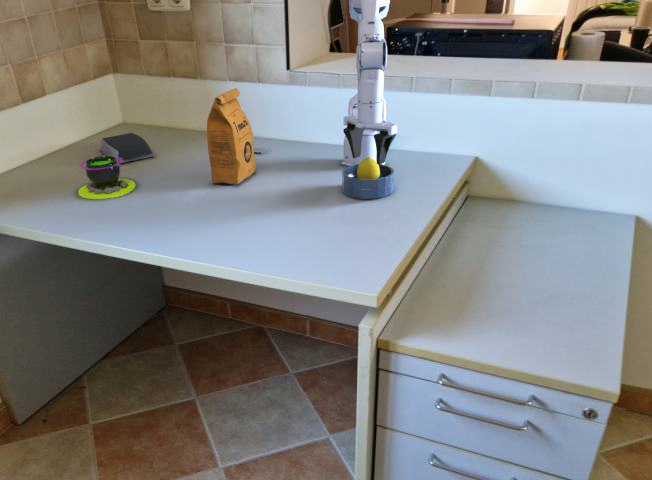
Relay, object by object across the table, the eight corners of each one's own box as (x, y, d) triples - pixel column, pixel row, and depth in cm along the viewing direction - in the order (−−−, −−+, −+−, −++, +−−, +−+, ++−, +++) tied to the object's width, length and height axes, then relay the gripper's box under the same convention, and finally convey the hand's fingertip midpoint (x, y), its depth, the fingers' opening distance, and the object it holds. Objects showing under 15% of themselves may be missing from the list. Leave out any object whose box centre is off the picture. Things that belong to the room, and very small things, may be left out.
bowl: (332, 192, 148) (331, 172, 145) (365, 179, 155) (365, 159, 152) (370, 204, 140) (371, 183, 138) (403, 189, 147) (404, 169, 144)
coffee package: (262, 173, 163) (256, 87, 150) (239, 188, 154) (230, 98, 141) (231, 169, 167) (222, 85, 154) (206, 184, 158) (195, 96, 146)
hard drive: (114, 166, 175) (111, 152, 173) (97, 150, 190) (94, 137, 187) (156, 157, 180) (154, 143, 178) (137, 142, 194) (135, 130, 192)
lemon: (381, 186, 149) (382, 153, 144) (376, 194, 144) (377, 161, 140) (359, 184, 150) (360, 152, 146) (354, 192, 146) (354, 159, 141)
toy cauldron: (146, 182, 162) (139, 141, 156) (111, 202, 151) (102, 158, 145) (102, 177, 167) (93, 137, 161) (66, 195, 156) (54, 153, 150)
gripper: (334, 99, 138) (334, 158, 146) (383, 108, 129) (381, 170, 137) (355, 93, 142) (354, 151, 149) (404, 102, 133) (400, 162, 140)
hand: (368, 160), depth 143 cm, fingers open, 7 cm apart
